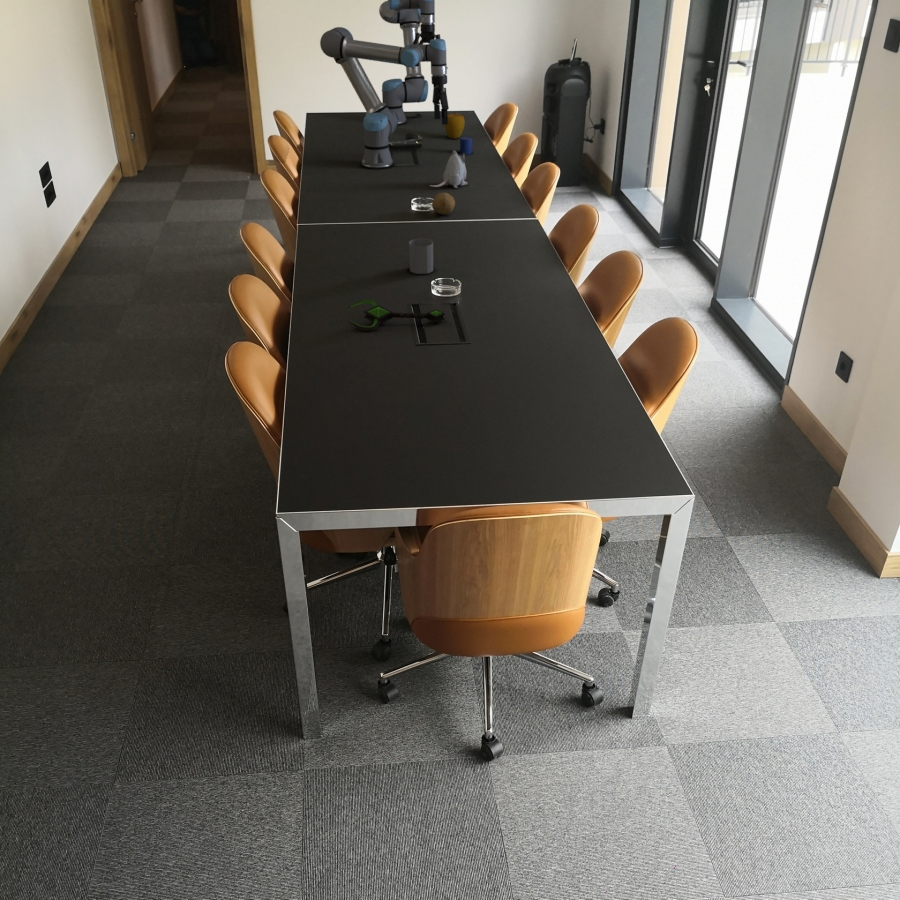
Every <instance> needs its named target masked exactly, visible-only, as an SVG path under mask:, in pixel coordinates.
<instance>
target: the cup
mask: <svg viewBox="0 0 900 900" xmlns="http://www.w3.org/2000/svg"><path fill="white" fill-rule="evenodd" d="M408 253H409V272H411V273H412V274H416V275H426V274H430V273H432V272H434V241H433V240H431V239H428V238H422V237H421V238H420V237H419V238H414V239H411V240H410V241H409V242H408Z"/></svg>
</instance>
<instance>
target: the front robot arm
mask: <svg viewBox="0 0 900 900" xmlns="http://www.w3.org/2000/svg"><path fill="white" fill-rule="evenodd" d="M319 46H320V50H321V51H322V53H323V54H324V55H325V56H327V57H329V58H333V60H334V62H335V63H336V64H338V65H340V67H341V68H342V70H343V71H344V73H345V75H346V77H347V79H348V80H349V83H350V84H351V86H352V88H353V90H354V91H355V93H356V95H357V97H358V99H359V100H360V102H361V104H362V106H363V108H364V110H365V111H366V112H365V115H364V118H363V123H362V125H363V138H364V139H363V140H364V151H363V155H362V159H361V166H362V167H363V168H366V169H371V170H381V169H387V168H390V167H392V166H394V161H393V158H392V151H391V150H390V147H389V145H390V144H389V137H390V136H391V135H392V134H393V133H394V132H395V131H396V129H397V126H398V125H397V119H396V116H395V114H394V113H393V112H392V111H390V110H389V109H388V107H387V105H386V104H385V103H383V101H382V100H381V99H380V97H379V95H378V93H377V91H376V89H375V88H374V86H373V84H372V82H371V80H370V79H369V77H368V75H367V73H366V71H365V69H364V67H363V65H362V63H361V62H360V60H366V61H375V62H380V63H381V62H382V63H386V64H387V63H388V64H395V65H401V66H404V67H405V68H406V67H414V66H415V65H416V64H418V63H419V62H421V63H425V62H426V63H428V62H430V74H431V76H430V77H431V79H430V80H431V85H433V91H432V104H433V113H434V114H433V116H434V117H433V118H434V120H441V125H442V126H445V124H448V115H449V114H448V110H449V109H450V106H449V100H448V95H447V88H446V87H445V86H444V85H446V84H448V75H447V74H448V69H449V67H448V65H447V45H446V40H445V39H443V38H440V39H436V38H434V39H432V40H430V43H423V44H411V45H406V47H404V46H398V45H392V44H384V43H378V42H372V41H364V40H358V39H354V36H353V34H352V33H351V31H349V29H347V27H346V28H345V27H343V26H337V27H336V26H335V27H333V28H331V29H329V30H327V31H325V32H324V33H323V34H322V35H321V37H320V39H319ZM359 59H360V60H359Z"/></svg>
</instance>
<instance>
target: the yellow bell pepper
mask: <svg viewBox="0 0 900 900" xmlns="http://www.w3.org/2000/svg"><path fill="white" fill-rule="evenodd" d="M465 123H466V122H465V117H464V116H463V115H462V114H461V113H449V114H448V124H445V125H444V129H445V133H446V136H447V137H448V138H449V139H450V140H455V139H458V138H459V139H460V138H461V136H462V134H463V132H464V129H465Z"/></svg>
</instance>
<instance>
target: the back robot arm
mask: <svg viewBox="0 0 900 900" xmlns="http://www.w3.org/2000/svg"><path fill="white" fill-rule="evenodd" d="M435 1H436V0H385V1H384V2H382V3H381V4H380V6H379V8H378V9H379V11H378V13H379V16H380V18H381V19H382V20H383V21H384V22H386V23H388V24H395V25H399V29H400V30H401V31H402V36H403V47H406V45H411V44H429V43H430V40H432V39H441V34H440V33H439V34H435V33H436V24H435V23H436V16H435V15H436V14H435V12H436V10H435V9H436V8H435V7H436V2H435ZM419 28H420V32H419ZM421 63H422V62H419V63H418V64H416V65H415V66H414V67H406V66H405V71H406V75H405V77H404V78H403V79H404V81H403V79H402V78H390V79H386V80H385V81H383V82H382V84H381V99H382V100H381V102H382V103H385V104H386V105H387V107H388V109H389V110H390V111H392V112H393V113H394V114H395V116H396V119H397V126H400V125H405V124H407V119H415V118H420V117H421V116H422V114H421V113H419V112H417V115H409V116H408V115H406V114H405V111H404V104H414V103H417V104H419V103H424V102H426V101H427V99H428V97H429V96H428V95H429V81H428V79H427V80H426V78H425V76H424V75H423V74H422V64H421ZM418 113H419V114H418ZM419 115H420V116H419Z"/></svg>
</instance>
